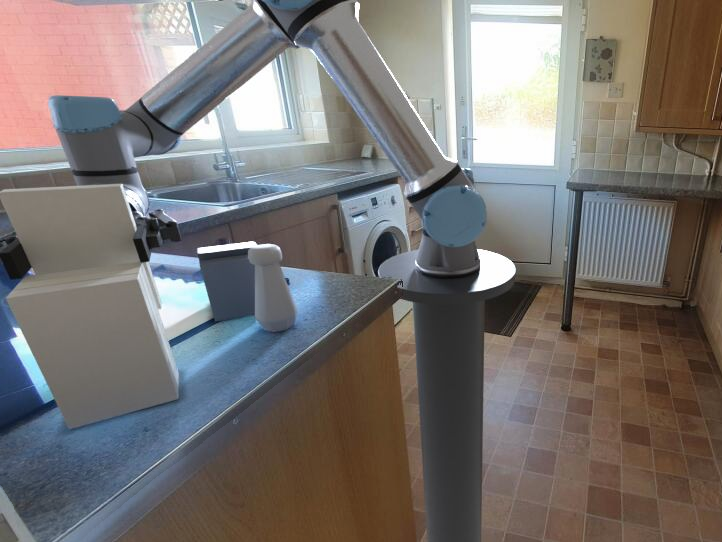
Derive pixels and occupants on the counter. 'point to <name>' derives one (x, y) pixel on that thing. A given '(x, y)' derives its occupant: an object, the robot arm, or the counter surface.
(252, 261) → the salt shaker
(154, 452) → the counter surface
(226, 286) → the grey upright block
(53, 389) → the white books
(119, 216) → the white book
